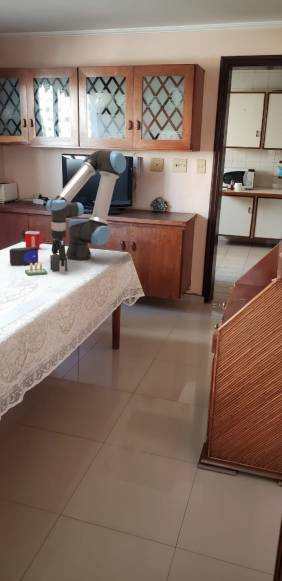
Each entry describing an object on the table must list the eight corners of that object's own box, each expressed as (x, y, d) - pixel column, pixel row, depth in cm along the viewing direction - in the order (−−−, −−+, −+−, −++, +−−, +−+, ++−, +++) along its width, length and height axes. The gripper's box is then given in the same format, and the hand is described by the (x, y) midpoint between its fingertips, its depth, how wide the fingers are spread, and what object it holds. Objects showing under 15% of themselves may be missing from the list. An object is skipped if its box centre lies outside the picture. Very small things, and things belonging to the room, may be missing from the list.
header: (44, 270, 242) (43, 260, 240) (47, 274, 236) (47, 264, 234) (25, 272, 238) (24, 261, 236) (28, 275, 232) (27, 265, 230)
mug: (24, 250, 283) (24, 233, 279) (27, 247, 290) (27, 231, 287) (44, 251, 283) (43, 234, 280) (46, 248, 291) (46, 231, 288)
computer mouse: (12, 267, 246) (11, 250, 243) (9, 264, 249) (8, 248, 246) (40, 264, 254) (40, 247, 251) (37, 262, 258) (37, 246, 255)
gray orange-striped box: (64, 268, 249) (64, 254, 246) (67, 270, 244) (67, 256, 242) (50, 269, 245) (50, 254, 243) (52, 271, 241) (52, 257, 238)
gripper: (45, 225, 247) (46, 263, 253) (58, 234, 226) (58, 275, 232) (59, 225, 250) (59, 262, 257) (72, 234, 229) (72, 274, 235)
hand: (58, 268), depth 244 cm, fingers open, 13 cm apart
